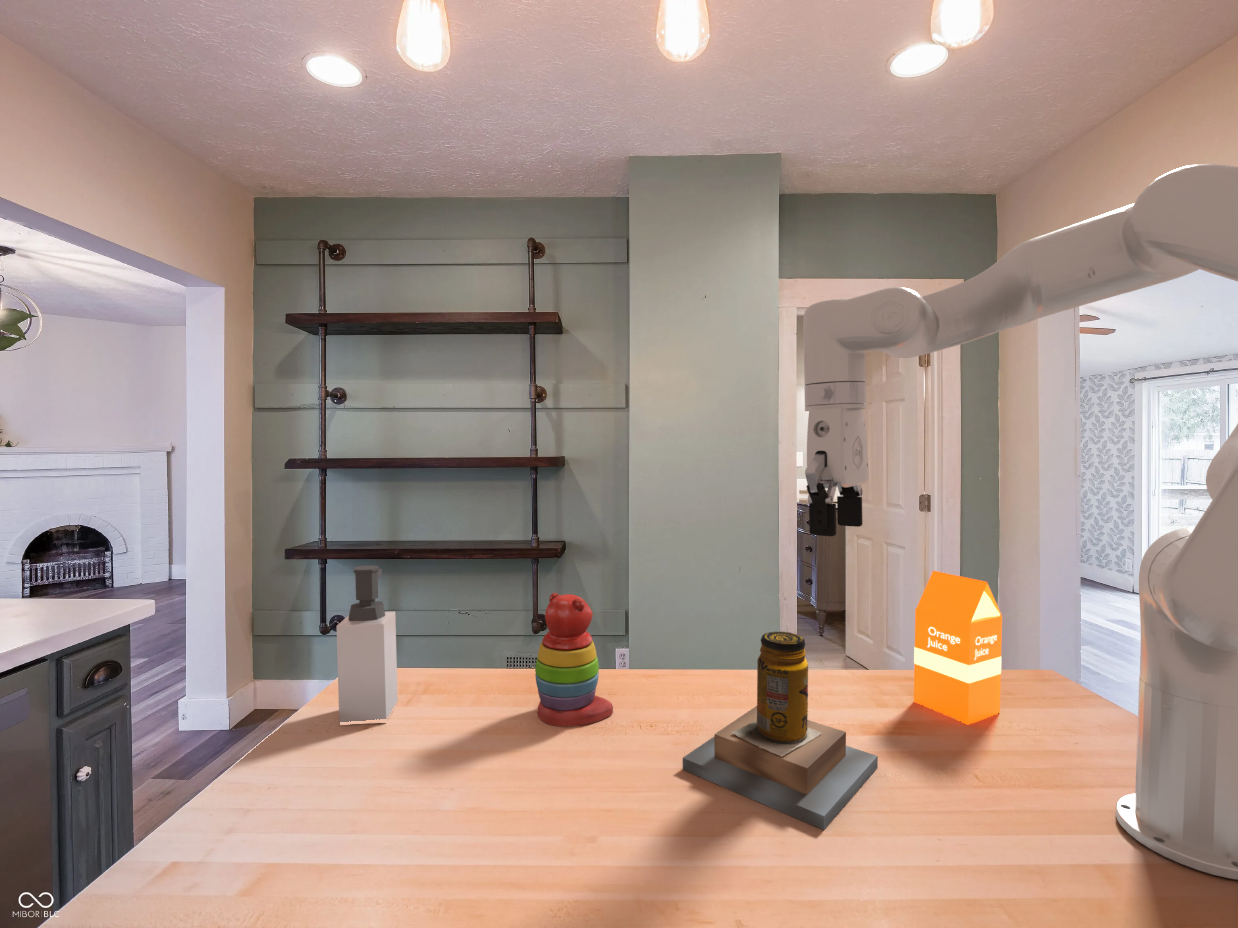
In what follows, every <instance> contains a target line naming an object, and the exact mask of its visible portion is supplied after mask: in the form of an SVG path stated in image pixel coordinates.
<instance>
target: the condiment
mask: <svg viewBox="0 0 1238 928" xmlns="http://www.w3.org/2000/svg"><path fill="white" fill-rule="evenodd" d="M805 640H806V639H805V638H803V636H801V635H799V634H796V633H795V632H794V633H793V632H788V631H776V630H775V631H770V632H765V633H763V634H762V635H761V637H760V643H761V646H760V649H759V652H760V654H759V656H758V658H757V661H756V662H757V669H756V671H757V672H756V673H757V675H756V676H757V678H756V681H757V682H756V706H757V721H756V722H753V723H749V724H748V725H746V726H744V727H742V728H740V729H736V730H735V731H733V732H731V733H733V734H735V735H737V736H738V737H740V738H742V739H744V740H746V741H748V742H750V743H752V744H754V745H756V746H758V747H759V748H763V749H766V750H768V751H769V752H771V753H775V754H777V755H779V756H781V757H782V756H784V755H785V754H787V753H789V752H791V751H792V750H794V749H796V748H797V747H799V746H801V745H804V744H806V743H807V742H809V741H811V740H812V739H814V738H816V737H818V736H819V735H821V734H822V732H819V731H816V730H813V729H811V728H808V727H807V723H808V722H807V721H808V720H809V719H808V718H809V717H808V716H809V714H808V713H809V711H808V708H809V702H808V698H809V663H808V661H807V658H806V655H807V654H806V649H805V648H806V641H805Z"/></svg>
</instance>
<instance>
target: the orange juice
mask: <svg viewBox="0 0 1238 928" xmlns="http://www.w3.org/2000/svg"><path fill="white" fill-rule="evenodd" d="M914 609H915V611H914V612H915V614H914V617H915V620H914V622H915V623H914V648H913V650H914V651H913V664H914V665H913V666H914V667H913V670H914V672H913V673H914V674H913V678H914V679H913V681H914V682H913V702H914V703H916V704H919V705H920V706H922V705H923V707H925V708H928V709H930V710H932V709H933V711H934V712H937V711H938V712H937V713H939V712H940V713H939V714H941V713H943V714H942V715H944V716H946V715H948V716H950V717H949V718H951V717H953V718H954V719H953V718H952V719H953V720H955V719H957V720H956V721H958V722H960V721H961V722H960V723H962V724H965V725H967V726H968V725H972V724H975V723H977V722H980V721H983V720H986V719H989V718H991V716H992V717H994V716H993V715H995V716H997V715H999V714H998V713H1000V714H1001V684H1002V683H1001V678H1002V677H1001V676H1002V675H1001V674H1002V657H1003V656H1002V638H1003V636H1002V635H1003V627H1002V626H1003V615H1002V612H1001V610H1000V608H999V605H998V603H997V602H996V599H995V597H994V595H993V593H992V590H991V588H990V585H989V584H988V581H984V580H980V579H975V578H970V577H965V576H960V575H956V574H950V573H946V572H941V571H938V570H936V571H935V570H932V571H931V574H930V577H929V579H928V581H927V583H926V586H925V588H924V591H923V593H922V595H921V597H920V599H919V601H918V604H917V607H916V608H914ZM996 714H997V715H996ZM948 716H947V717H948ZM988 717H989V718H988ZM971 723H972V724H971Z"/></svg>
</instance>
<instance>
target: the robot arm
mask: <svg viewBox="0 0 1238 928" xmlns="http://www.w3.org/2000/svg"><path fill="white" fill-rule="evenodd" d="M1199 270H1201V271H1204V272H1207V273H1209V274H1213V275H1216V276H1219V277H1222V278H1226V279H1229V280H1232V281H1235V282H1238V166H1234V165H1226V164H1216V163H1215V164H1214V163H1201V164H1191V165H1185V166H1182V167H1179V168H1176V169H1173V170H1171V171H1169V172H1165V173H1164V174H1162V175H1161V176H1159V177H1157V178H1156V179H1154V180H1152V182H1151V183H1149V185H1147V186H1146V187H1145V188H1143V190H1142V192H1141V193H1140V194H1139V195H1138V196H1137V198H1136V200H1135V202H1134V203H1132V204H1128V205H1126V206H1123V207H1120V208H1117V209H1114V210H1111V211H1108V212H1106V213H1103V214H1100V215H1097V216H1094V217H1091V218H1088V219H1086V220H1083V221H1080V222H1077V223H1074V224H1071V225H1069V226H1066V227H1063V228H1060V229H1057V230H1054V231H1052V232H1047V233H1046V234H1042V235H1039V236H1036V237H1033V238H1030V239H1028V240H1026V241H1025V240H1024V241H1023V242H1021V243H1019V244H1018V245H1016V246H1014V247H1013V248H1011V249H1010V250H1009V251H1008V252H1006V253H1005V254H1004V255H1002V257H1000V258H999V259H998V260H997V261H996V262H995V263H994V264H992V265H991V266H989V267H988V268H987V269H985V270H983V271H982V272H980V273H979V274H977V275H975V276H973V277H970V278H969V279H967V280H965V281H962V282H960V283H958V284H956V285H953V286H950V287H947V288H945V289H942V290H939V291H935V292H932V293H929V294H926V295H923V296H921V294H919V293H918V292H917V291H915V290H913V289H911V288H907V287H902V286H894V287H893V286H891V287H888V288H883V289H880V290H879V289H878V290H876V291H873V292H869V293H866V294H863V295H859V296H855V297H851V298H848V299H847V298H846V299H845V298H839V299H838V298H837V299H828V300H827V299H826V300H823V301H822V300H821V301H818V302H815V303H813V304H811V305H809V306H807V308H806V309H805V311H804V314H803V322H802V323H803V325H802V327H803V333H802V334H803V369H804V374H803V375H804V390H803V391H804V412H808V418H807V429H806V430H807V433H806V434H807V435H806V468H805V472H804V475H805V479H806V491H807V493H808V495H807V503H808V508H809V510H808V514H809V516H808V517H809V519H808V521H809V534H810V535H812V536H820V537H821V536H822V537H834V536H836V535H837V525H838V526H843V527H857V528H858V527H859V528H860V527H862V526H863V488H862V485H863V484H865V483H866V482H867V481H868V480H869V460H868V459H869V457H868V444H867V442H868V441H867V433H866V432H867V431H866V424H865V417H864V411H863V410H864V409H865V410H866V409H867V383H866V381H867V376H866V375H867V374H866V351H876V352H880V353H881V352H882V353H885V354H887V355H889V356H891V357H894V358H898V359H911V358H916V357H921V356H924V355H928V354H932V353H935V352H938V351H939V352H940V351H942V350H945V349H949V348H953V347H956V346H960V345H963V344H967V343H969V342H973V341H975V340H979V339H982V338H985V337H989V336H991V335H994V334H996V333H999V332H1002V331H1005V330H1008V329H1013V328H1016V327H1020V326H1023V325H1026V324H1028V323H1031V322H1033V321H1036V320H1038V319H1041V318H1045V317H1047V316H1051V315H1055V314H1057V313H1061V312H1064V311H1068V310H1072V309H1074V308H1079V307H1081V306H1085V305H1088V304H1092V303H1096V302H1099V301H1102V300H1105V299H1110V298H1113V297H1117V296H1120V295H1124V294H1127V293H1132V292H1134V291H1138V290H1141V289H1145V288H1149V287H1152V286H1155V285H1156V286H1157V285H1158V284H1162V283H1166V282H1169V281H1173V280H1175V279H1178V278H1182V277H1184V276H1187V275H1189V274H1192V273H1194V272H1197V271H1199ZM1205 485H1206V490H1207V493H1208V495H1209V497H1210V498H1211V502H1210V503H1209V505H1208V507H1207V508H1206V510H1205V511H1204V513H1203V514H1202V516H1201V518H1200V519H1199V521H1198V522H1197V523H1196V525H1195V526H1192V527H1191V526H1189V527H1184V528H1178V529H1175V530H1172V531H1170V532H1167V533H1165V534H1163V535H1161V536H1160V537H1158V538H1157V539H1156V540H1155V541H1154V542H1153V543H1152V544H1150V545H1149V547H1147V549H1146V551H1145V552H1144V555H1143V557H1142V559H1141V562H1140V564H1139V565H1140V566H1139V572H1138V594H1139V595H1138V596H1139V614H1140V615H1139V616H1140V618H1139V619H1140V653H1139V654H1140V657H1139V658H1140V659H1139V676H1138V677H1139V678H1138V701H1137V704H1138V705H1137V707H1138V709H1137V729H1136V730H1137V731H1136V732H1137V733H1136V734H1137V735H1136V764H1135V787H1134V788H1135V790H1134V793H1130V794H1126V795H1123V796H1121V798H1119V799H1118V800H1117V802H1116V803H1115V817H1116V820H1117V821H1118V823H1119V824H1120V826H1121V827H1122V828H1123V829H1124V830H1125V831H1126V832H1127V834H1129V835H1130V836H1131V837H1132V838H1134V839H1135V840H1136V841H1138V842H1139V843H1140V844H1142V845H1143V846H1145V847H1147V848H1148V849H1149V850H1151V851H1153V852H1155V853H1156V854H1159V855H1160V856H1162V857H1165V858H1167V859H1169V860H1171V861H1173V862H1176V863H1178V864H1180V865H1182V866H1186V867H1188V868H1191V869H1193V870H1197V871H1199V872H1203V873H1206V874H1210V875H1213V876H1216V877H1222V878H1225V879H1231V880H1236V881H1238V423H1237V424H1236V426H1234V428H1233V430H1232V432H1231V433H1230V434H1229V436H1228V437H1227V438H1226V441H1225V442H1224V443H1223V444H1222V446H1221V447H1220V448H1219V450H1218V452H1217V453H1216V454H1215V455H1214V456H1213V458H1212V459H1211V461H1210V463H1209V466H1208V468H1207V470H1206V477H1205ZM826 489H827V490H826ZM837 490H838V493H839V495H837V496H836V502H837V503H834V502H833V501H834V499H835V495H836V491H837Z"/></svg>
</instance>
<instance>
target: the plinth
mask: <svg viewBox="0 0 1238 928" xmlns="http://www.w3.org/2000/svg"><path fill="white" fill-rule="evenodd" d="M756 721H757V705H755V706H754V707H753V708H751V709H750V710H748V711H747V712H745V713H744V714H743V715H741V716H740V717H738V718H737V719H735V720H734V721H732V722H730V723H729V724H727V725H726V726H725V727H723V728H722V729H720V730H719V731H717V732H716V733H714V735H713V737H711V738H710V739H708V740H707V741H705V742H704V743H702V744H701V745H699V746H698V747H696V748H695V749H693V750H692V751H690V752H689V753H688V754H685V755H684V756H683V757H682V770H683V771H685V772H687V773H690V774H692V775H694V776H697V777H699V778H702V779H704V780H706V781H709V782H711V783H713V784H716V785H718V786H720V787H723V788H725V789H727V790H730V791H732V792H734V793H737V794H739V795H741V796H743V797H746V798H748V799H750V800H753V801H754V802H757V803H760V804H762V805H764V806H766V807H769V808H772V809H774V810H776V811H778V812H780V813H784V814H785V815H787V816H790V817H792V818H795V819H797V820H799V821H802V822H804V823H807V824H809V825H812V826H813V827H816V828H818V829H821V830H822V831H823V830H824V831H825V830H826V829H827V828H828V826H829V825H830V824H831V822H833V820H834V819H835V818H836V817H837V815H838V814H839V813H840V812H841V811H842V810H843V809H844V808H845V807H846V805H847V804H848V803H849V802H850V801H851V799H852V798H853V797H854V796H855V795H856V794H857V792H858V791H859V790H860V789H861V788H862V787H863V785H864V784H865V783H866V782H867V781H868V780H869V778H870V777H871V776H872V775H873V774H874V772H876V770H877V769H878V765H879V764H878V762H879V761H878V759H879V758H878V757H879V756H878V755H876V754H873V753H870V752H867V751H864V750H861V749H859V748H855V747H851V746H850V745H849V746H848V745H847V731H846V730H845V731H844V730H841V729H838V728H836V727H835V728H834V727H832V726H829V725H825V724H822V723H819V722H816V721H813V720H809V719H808V721H807V722H808V723H807V727H808V728H811V729H813V730H816V731H819V732H822V734H821V735H819V736H818V737H816V738H814V739H812V740H811V741H809V742H807V743H806V744H804V745H801V746H799V747H797V748H796V749H794V750H792V751H791V752H789V753H787V754H785V755H784V756H782V757H781V756H779V755H777V754H775V753H771V752H769V751H768V750H766V749H763V748H759V747H758V746H756V745H754V744H752V743H750V742H748V741H746V740H744V739H742V738H740V737H738V736H737V735H735V734H733V733H731V732H733V731H735V730H736V729H740V728H742V727H744V726H746V725H748V724H749V723H753V722H756Z"/></svg>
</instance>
